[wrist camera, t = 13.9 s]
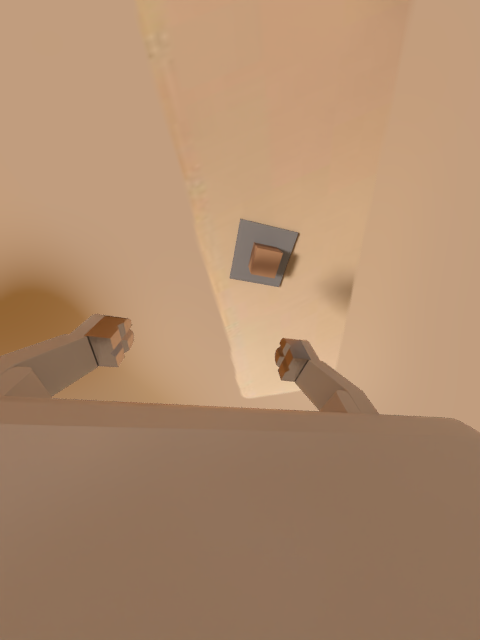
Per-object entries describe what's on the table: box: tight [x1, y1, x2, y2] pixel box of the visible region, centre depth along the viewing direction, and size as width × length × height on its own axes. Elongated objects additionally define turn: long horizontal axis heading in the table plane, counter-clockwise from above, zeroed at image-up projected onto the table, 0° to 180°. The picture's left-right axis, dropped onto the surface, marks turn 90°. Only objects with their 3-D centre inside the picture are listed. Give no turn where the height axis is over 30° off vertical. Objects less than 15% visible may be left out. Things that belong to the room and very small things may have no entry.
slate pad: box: [230, 219, 298, 287], centre depth 37 cm, size 12×12×1 cm
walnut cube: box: [248, 242, 283, 278], centre depth 35 cm, size 5×5×5 cm
